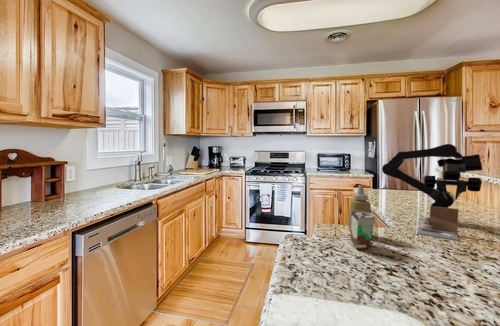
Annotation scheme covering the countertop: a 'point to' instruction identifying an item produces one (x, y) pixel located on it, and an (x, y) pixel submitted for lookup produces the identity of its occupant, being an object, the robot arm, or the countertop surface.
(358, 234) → the food container
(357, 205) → the squeeze bottle
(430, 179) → the robot arm
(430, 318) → the countertop surface
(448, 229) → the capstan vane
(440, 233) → the slate base
